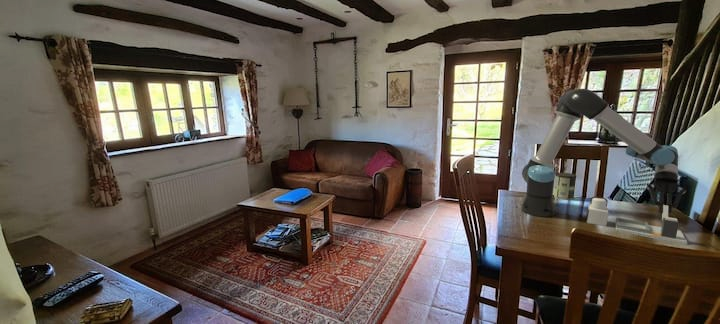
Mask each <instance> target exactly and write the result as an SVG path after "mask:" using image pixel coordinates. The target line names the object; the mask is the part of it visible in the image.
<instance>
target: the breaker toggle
mask: <svg viewBox="0 0 720 324" xmlns="http://www.w3.org/2000/svg"><path fill="white" fill-rule="evenodd" d="M679 224H680V221H679V220H678V219H677V218H676V217H669V216H668V217H665V218H663V221H662V224H661V227H662V228H661V236H664V237H669V238H674V239H676V235H677V230H679V229H678V228H679Z"/></svg>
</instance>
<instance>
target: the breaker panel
mask: <svg viewBox="0 0 720 324" xmlns="http://www.w3.org/2000/svg"><path fill="white" fill-rule="evenodd" d="M614 222H615V231H616V232H617V231H618V232H619V233H623V232H625V233H624V234H628V233H629V235H633V234H634V236H638V235H639V236H638V237H644V238H650V239H655V240H660V239H661V240H660V241H665V240H668V241H667V242H670V241H672V243H675V242H676V244H682V245H686V244H687V245H688V241H687V239H686V237H685V236H684V234H683V233H682V230H679V229H678V230H677V235H676V239H674V238H669V237H664V236H661V228H662V226H655V225H649V223H648V222H647V221H641V220H640V221H639V220H635V219H628V218H623V217H622V218H621V217H616V216H615V221H614Z"/></svg>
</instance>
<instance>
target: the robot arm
mask: <svg viewBox="0 0 720 324" xmlns="http://www.w3.org/2000/svg"><path fill="white" fill-rule="evenodd" d="M609 105H610V104H609V103H608V102H607V101H606V100H604V99H603V98H602V97H601V96H599V95H598V94H596V92H594V91H592V90H591V89H588V88H577V89H571V90H568V91H566V92H564V93H563V94H561V96H560V98H559V100H558V105H557V108H556V110H555V114H556V117H555V119H554V120H553V122H552V124H551V126H550V128H549V129H548V132H547V134H546V135H545V137H544V139H543V140H542V143H541V144H540V146H539V149H538V150H537V152H536V154H535V155H534V156H533V157H531V158H530V159H529V161H528V163H527V164H525V165H524V166H523V168H522V170H521V176H522V179H523V180H524V182H525V183H526V192H525V193H526V194H525V198H524V200H523V201H522V203H521V206H520V207H521V208H520V210H521V212H523V213H525V214H528V215H531V216H536V217H543V218H545V217H553V216H555V214H556V209H555V205H554V201H553V194H554V184H555V173H556V171H555V170H554V165H553V162H554V160H555V158H556V156H557V154H558V153H559V151H560V149H561V148H562V145H563V144H564V143H565V140H566V138H567V137H568V135H569V133H570V131H571V130H572V128H573V126H574V124H575V122H577V121H580V120H581V118H582V117H584V118H587V119H588V120H590V121H591V120H592V121H595V122H596V123H598V124H599V125H600V126H601V127H603V128H604V129H606V130H607V131H608V132H609V133H611V134H613V136H615V137H616V138H618V139H619V140H620V141H622V142H623V143H624V144H626V145H627V147H626V149H625V154H626V155H627V156H630V157H632V158H636V159H639V160H642V161H645V162H648V163H651V164H653V165H654V169H655V170H654V182H653V183H652V184H646V187H645V188H646V189H647V191H648V192H649V195H650V198H651V200H652V204H653V205H654V206H658V212H659V214H661V222H663V218H665V217H669V215H671V214H672V212H673V210H672V209H677V207H678V205H679V203H680V201H681V198H682V196H683V195H684V194H685V193H686V192H687V188H685V187H681V186H680V184H679V178H678V177H679V176H678V175H679V171H678V170H679V167H678V166H679V151H678V149H677V148H676V147H675V146H673V145H660V144H659V143H658V142H656V141H655V140H654V139H652V138H651V137H649V135H647V134H646V133H644V132H643V131H642V130H640V129H639V128H638V127H636V126H635V125H633V124H632V123H631V122H629V121H628V120H627V119H626V118H624V117H623V116H622V115H620V114H619V113H618V112H616V111H615V110H614V109H612V108H610V106H609ZM655 189H656V190H657V191H658V198H657V195H656V192H655ZM675 191H677V193H678V194H677V196H676V198H675V200H674V203H673V193H674V192H675ZM665 194H666V205H665V204H664V203H665Z"/></svg>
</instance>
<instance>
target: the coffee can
mask: <svg viewBox="0 0 720 324" xmlns="http://www.w3.org/2000/svg"><path fill="white" fill-rule="evenodd" d="M576 179H577V174H575V173H571V172H555V179H554V188H553V195H554V197H553V198H556V199H559V200H566V201H570V200H571V201H572V200H574V199H575V198H574V197H575V189H576V188H575V187H576V181H577V180H576Z"/></svg>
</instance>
